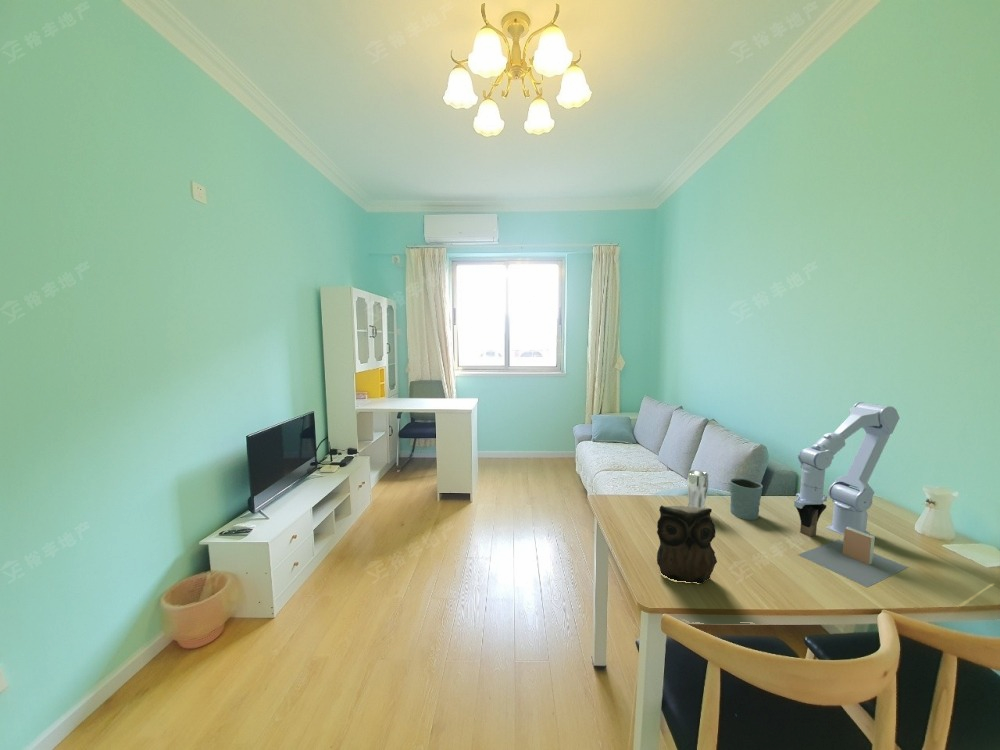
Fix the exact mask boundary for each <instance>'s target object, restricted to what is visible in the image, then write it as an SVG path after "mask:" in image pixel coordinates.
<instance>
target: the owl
mask: <svg viewBox="0 0 1000 750" xmlns="http://www.w3.org/2000/svg"><path fill="white" fill-rule="evenodd" d="M712 510H713V509H712V508H710V507H709V508H707V507H705V508H698V507H691V506H688V505H687V506H685V505H669V506H664V505H662V504H661V505H660V507H659V513H660V516H659V518H658V520H657V527H656V529H657V531H656V534H657V536H658V539H659V547H658V549H657V554H656V562H657V565H658V567H659V572H660V571H661V573H662V574H663V575H665V576H667V577H668V578H670V579H674V580H677V581H686V582H697V583H702V584H704V583H705V582H706V581H705V580H707V579H709V578H710V579H711V576H712V574H713V571H714V569H715V566H716V565H717V563H718V561H717V557H716V554H715V553H716V551H715V550H714V549H713V547H712V541H713V540H714V539H715V537H716V527H715V526H716V525H715V522H714V521H713V519H712V517H711V513H712ZM704 581H705V582H704ZM707 581H708V580H707ZM703 582H704V583H703Z"/></svg>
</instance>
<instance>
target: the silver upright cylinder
mask: <svg viewBox="0 0 1000 750" xmlns="http://www.w3.org/2000/svg"><path fill="white" fill-rule="evenodd" d="M686 481H687V482H686V486H687V488H686V489H687V495H688V504H687V506H691V507H698V508H706V507H705V506H706V505H705V503H706V499H707V497H708V493H709V492H708V491H709V485H710V484H709V474H708V473H707V472H705V471H701V470H696V469H694V470H693V469H692V470H689V471H688V474H687V480H686Z"/></svg>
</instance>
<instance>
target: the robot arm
mask: <svg viewBox="0 0 1000 750" xmlns="http://www.w3.org/2000/svg"><path fill="white" fill-rule="evenodd" d="M899 420H900V416H899V413H898V410H897V409H896V408H895V407H894V406H891V405H889V406H888V405H879V404H874V403H867V402H864V401H858V402H856V403H855V404H853V405H852V407H850V408H849V415H848V416H847V418H846V419H845V420H844V421H843V422H842V423H841V424H839V426H838V427H837V428H836V429H835V431H834V432H827V433H825V434H823V435H822V437H820V438H819V439H817V441H816V442H815V443H813V445H811V446H809V447H806V448H803V449H801V450H800V452H799V454H798V455H797V459H798V461H799V463H800V468H801V476H800V479H801V480H800V490H799V492H798V493H796V494H795V497H797V498H796V499H795V500H794V502H793V506H794V508H795V509H796V510H797V512H798V513H797V514H798V515H799V520H800V525H801V524H802V525H803V526H806V527H810V525H811V522H812V518H813V515H814V514H815V512H816V511H817V510H818V517H817V523H818V521H819V519H820V517H821V515H822V513H823V512H824V510H826V509H827V504H824V502H827V501H828V497H829V498H830V499H831V502H832V503H833V511H832V512H833V513H832V522H831V525H827V526H826V527H825V528H826V529H828V530H830V531H832V532H836V534H837V533H838V534H840V535H843V536H844V532H845V528H847V527H850V528H853V529H855V530H858V531H861V532H864V533H866V534H869V535H871V533H870V532H869V531H867V526H868V518H869V517H868V516H869V515H868V514H869V513H868V511H867V510H869V509H870V508H871V506H872V505H873V498H874V494H875V491H874V489H873V488H872V487H871V486H870V484H869V480H870V478H871V476H872V474H873V472H874V470H875V468H876V466H877V464H878V461H879V459H880V457H881V455H882V453H883V451H884V449H885V447H886V446H887V443H888V440H889V439H890V437H891V435H892V434H893V433H894V430H895V429H896V427H897V424H898V422H899ZM861 429H863V430H864V431H865V435H864V437H863V439H862V441H861V444H860V445H859V448H858V449H857V452H856V454H855V456H854V457H853V459H852V462H851V465H850V467H849V469H848V471H847V472H846V474H845V475H841V476H839V477H836V478H835V481H834V482H833V483H832V484H830V486H829V487H828V491H827V494H828V495H826V494H824V486H825V476H826V470H827V469H828V468H829V467H830V466H831V464H832V461H833V460H834V458H835V455H836V454H837V453H839V451H841V450H842V449H843V448H844V447H845V446H846V440H847V439H848V438H850V437H851V436H852V435H853V434H855V433H856V432H858V431H859V430H861ZM814 508H815V509H814Z"/></svg>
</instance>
